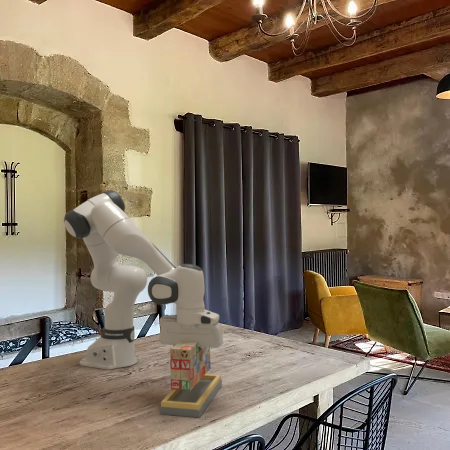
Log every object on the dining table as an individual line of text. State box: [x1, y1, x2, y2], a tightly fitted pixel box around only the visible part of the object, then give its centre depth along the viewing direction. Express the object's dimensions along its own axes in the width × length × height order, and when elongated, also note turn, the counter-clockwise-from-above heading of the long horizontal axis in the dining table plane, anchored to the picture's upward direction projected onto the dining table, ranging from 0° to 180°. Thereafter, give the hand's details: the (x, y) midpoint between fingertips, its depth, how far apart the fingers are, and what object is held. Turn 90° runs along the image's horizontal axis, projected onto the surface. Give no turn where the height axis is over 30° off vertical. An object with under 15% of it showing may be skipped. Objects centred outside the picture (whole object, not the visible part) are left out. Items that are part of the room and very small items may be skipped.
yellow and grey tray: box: [159, 373, 223, 418], centre depth 148 cm, size 12×27×4 cm, turn 167°
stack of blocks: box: [169, 341, 211, 391], centre depth 148 cm, size 21×6×12 cm, turn 166°
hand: (190, 359), depth 147 cm, fingers closed on stack of blocks, 6 cm apart
